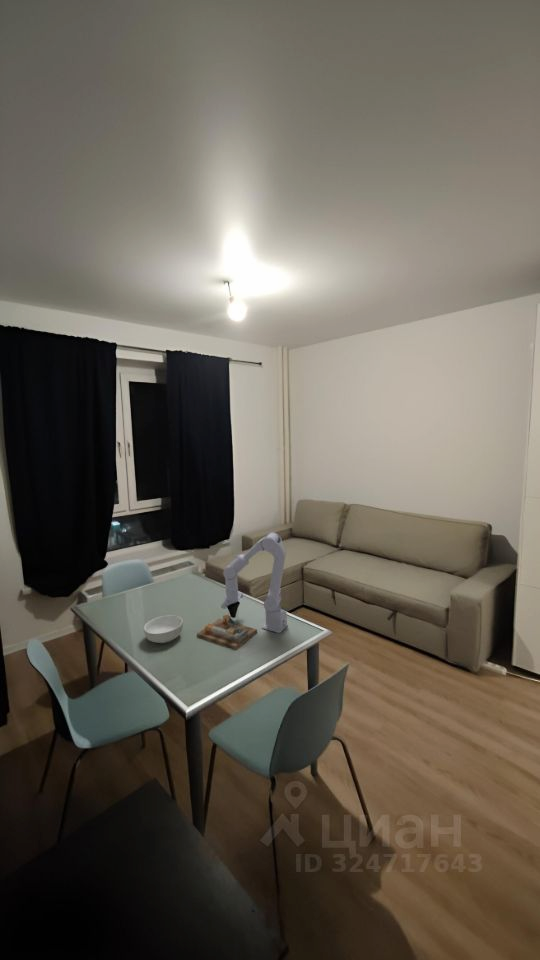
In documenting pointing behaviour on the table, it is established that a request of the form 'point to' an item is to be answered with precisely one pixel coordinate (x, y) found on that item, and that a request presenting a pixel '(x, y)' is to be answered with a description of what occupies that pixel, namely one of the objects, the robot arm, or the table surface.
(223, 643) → the board
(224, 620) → the tong arm
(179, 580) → the table surface
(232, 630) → the tab
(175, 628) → the cereal bowl
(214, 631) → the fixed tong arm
